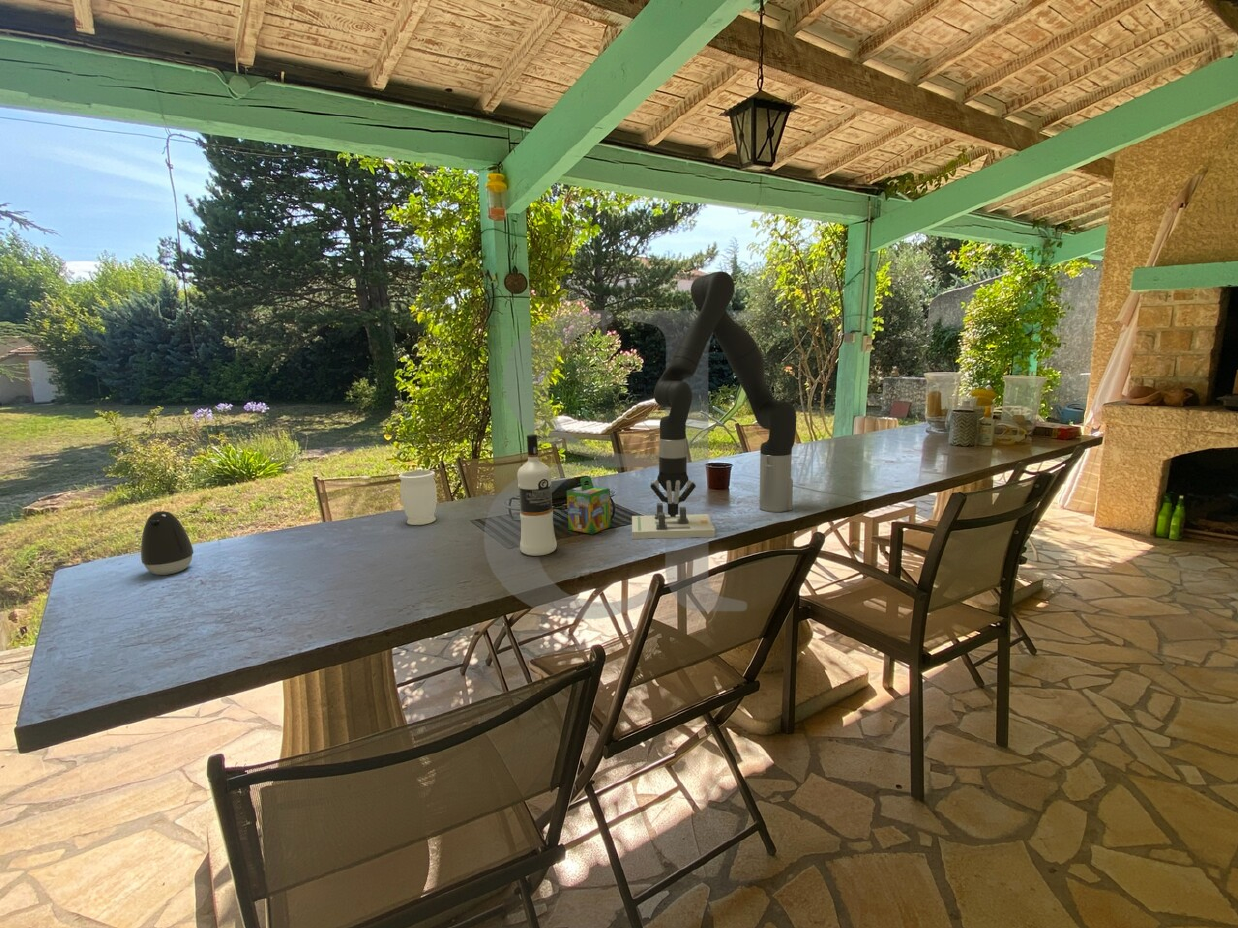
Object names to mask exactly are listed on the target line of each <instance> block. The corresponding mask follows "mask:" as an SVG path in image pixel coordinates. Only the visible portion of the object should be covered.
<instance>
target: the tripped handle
mask: <svg viewBox="0 0 1238 928" xmlns="http://www.w3.org/2000/svg"><path fill="white" fill-rule="evenodd" d="M679 515H680V519H677V520H678V523H689V521H688V518H686V515H687V507H685V506H682V507H681V506H680V507H679Z"/></svg>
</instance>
